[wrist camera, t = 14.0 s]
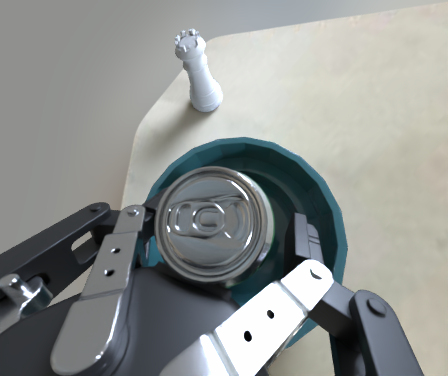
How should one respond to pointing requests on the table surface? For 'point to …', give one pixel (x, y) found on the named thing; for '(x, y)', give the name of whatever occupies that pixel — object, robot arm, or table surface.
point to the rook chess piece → (198, 71)
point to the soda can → (214, 226)
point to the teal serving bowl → (280, 201)
